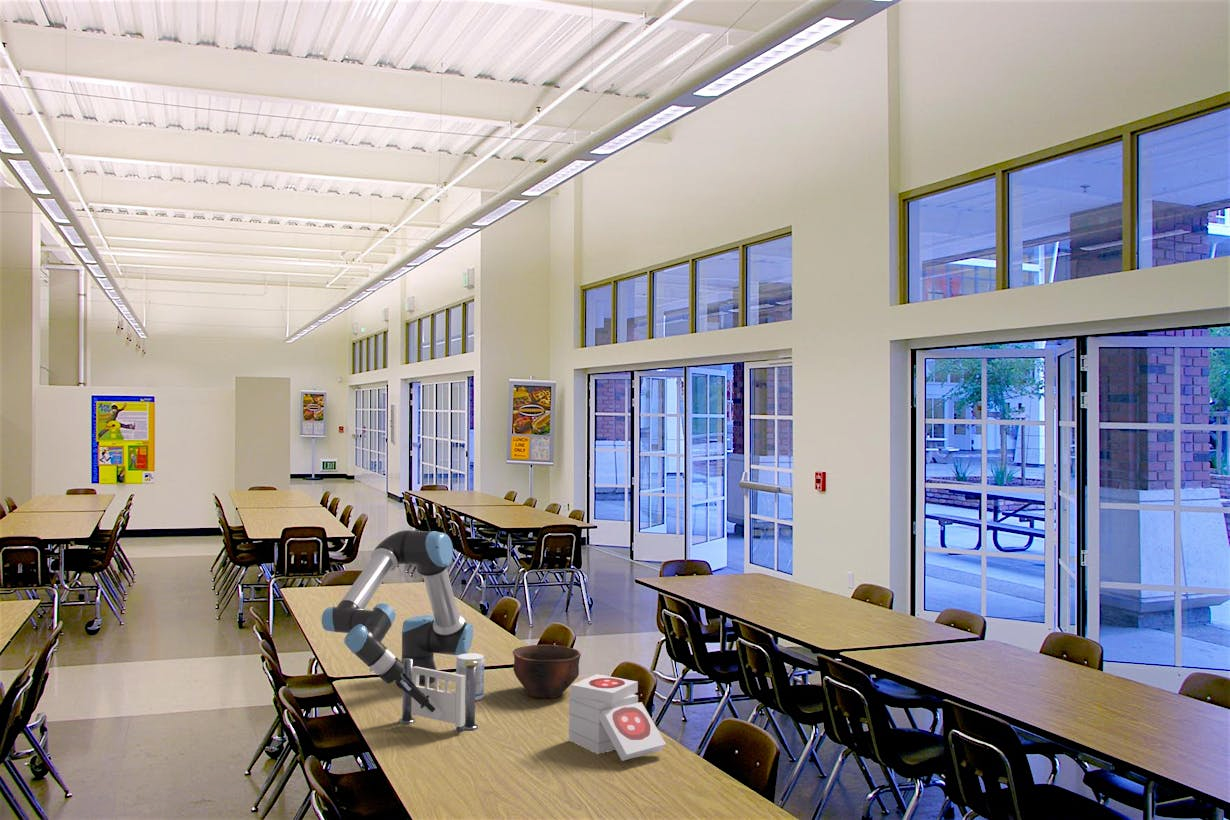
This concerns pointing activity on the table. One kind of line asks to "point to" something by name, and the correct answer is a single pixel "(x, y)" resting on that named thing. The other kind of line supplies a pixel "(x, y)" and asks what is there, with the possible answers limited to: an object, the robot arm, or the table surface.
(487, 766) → the table surface
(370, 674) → the table surface
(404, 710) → the hinge post
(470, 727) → the latch post
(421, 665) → the robot arm
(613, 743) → the pizza boxes
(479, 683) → the supplement tub
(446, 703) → the gate
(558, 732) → the table surface
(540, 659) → the bowl
